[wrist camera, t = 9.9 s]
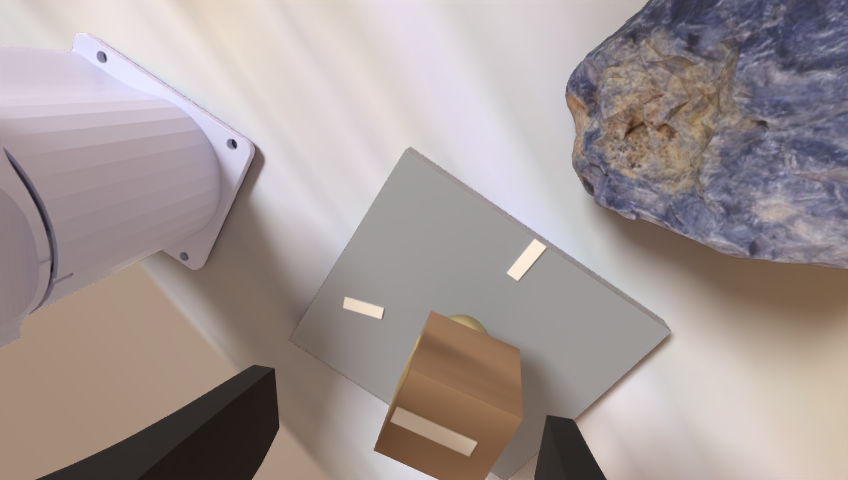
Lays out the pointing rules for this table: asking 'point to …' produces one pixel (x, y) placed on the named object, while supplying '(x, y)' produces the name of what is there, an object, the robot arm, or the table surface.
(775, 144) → the rock
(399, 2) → the table surface
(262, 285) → the table surface
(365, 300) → the plate
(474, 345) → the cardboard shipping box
